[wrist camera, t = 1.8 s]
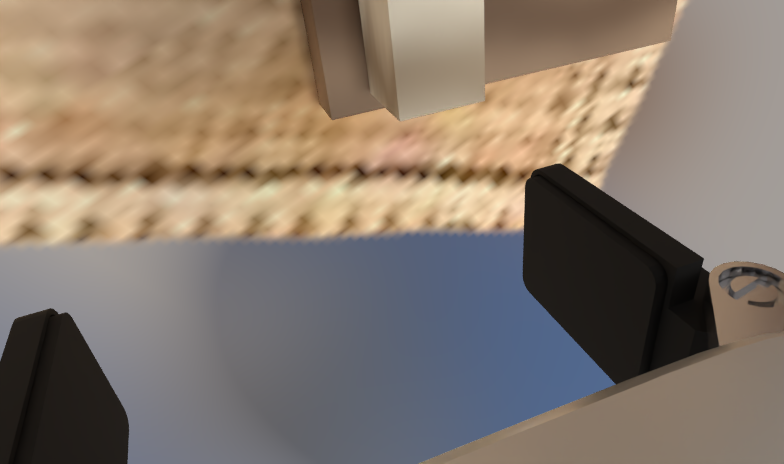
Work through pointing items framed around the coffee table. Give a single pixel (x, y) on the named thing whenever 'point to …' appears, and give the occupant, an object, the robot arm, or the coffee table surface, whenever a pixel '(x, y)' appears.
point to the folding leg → (424, 54)
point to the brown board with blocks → (487, 40)
